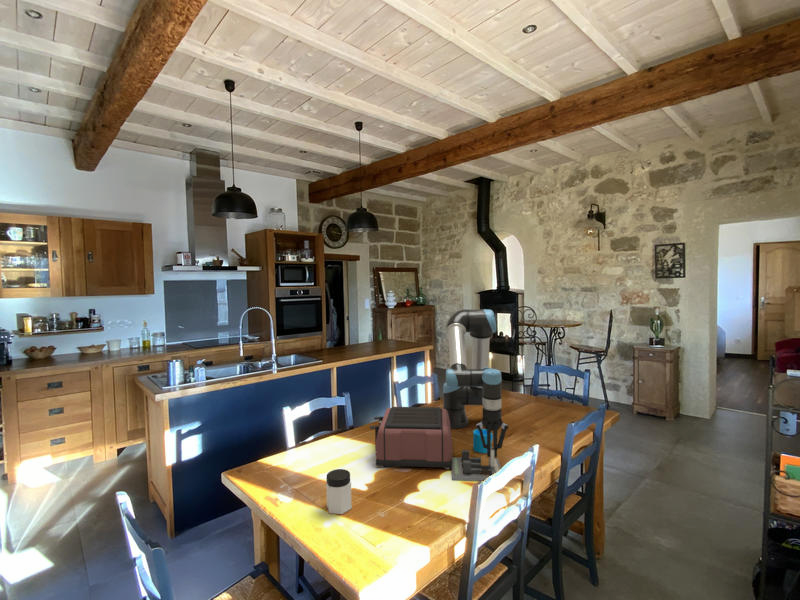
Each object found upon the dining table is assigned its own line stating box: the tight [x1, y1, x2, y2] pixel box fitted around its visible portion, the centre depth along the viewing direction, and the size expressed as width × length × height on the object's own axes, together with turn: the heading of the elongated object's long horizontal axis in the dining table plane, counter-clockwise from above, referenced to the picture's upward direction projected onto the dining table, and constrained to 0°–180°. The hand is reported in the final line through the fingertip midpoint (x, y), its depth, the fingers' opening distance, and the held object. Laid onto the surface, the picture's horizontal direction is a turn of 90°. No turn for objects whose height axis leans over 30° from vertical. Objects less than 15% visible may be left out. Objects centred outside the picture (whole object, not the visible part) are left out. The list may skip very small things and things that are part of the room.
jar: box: [325, 468, 353, 515], centre depth 141 cm, size 9×8×12 cm
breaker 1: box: [461, 449, 470, 462], centre depth 172 cm, size 3×3×4 cm
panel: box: [451, 456, 502, 482], centre depth 167 cm, size 16×20×2 cm
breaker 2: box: [463, 460, 471, 473], centre depth 162 cm, size 3×3×4 cm
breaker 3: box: [480, 454, 490, 468], centre depth 166 cm, size 3×3×4 cm
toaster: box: [369, 406, 453, 471], centre depth 184 cm, size 31×36×18 cm
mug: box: [472, 428, 493, 454], centre depth 189 cm, size 12×8×8 cm
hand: (492, 464), depth 166 cm, fingers closed
